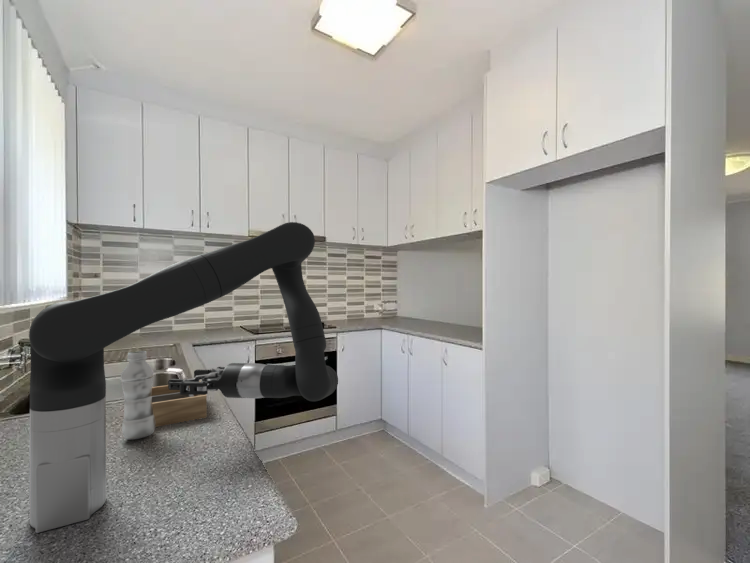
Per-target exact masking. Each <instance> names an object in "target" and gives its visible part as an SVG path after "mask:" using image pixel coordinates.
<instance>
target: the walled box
mask: <svg viewBox="0 0 750 563" xmlns="http://www.w3.org/2000/svg"><path fill="white" fill-rule="evenodd" d="M201 381H202V380H199V382H201ZM189 388H190V386H189ZM207 395H208V394H206V395H181V394H180V390H169V388H168V384H167V385H158V386H152V395H151V396H152V407H153V414H154V417H155V421H156V425H155V428H158V427H163V426H168V425H175V424H180V423H179V422H181V423H185V422H184V421H186V422H190V421H189V420H192V421H196V420H195V419H197V420H202V419H201V418H203V419H206V417H207V416H208V415H207V412H208V411H207V410H208V407H207V406H208V405H207V401H208V399H207ZM207 418H208V417H207ZM174 423H175V424H174Z"/></svg>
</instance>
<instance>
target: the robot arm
mask: <svg viewBox="0 0 750 563" xmlns="http://www.w3.org/2000/svg"><path fill="white" fill-rule="evenodd" d="M315 240H316V239H315V235H314V233H313V231H312V229H311V228H310V227H308V226H307V225H306V224H304V223H301V222H297V221H295V222H293V221H289V222H285V223H283V224H280V225H277V226H276V227H275V228H272V229H270V230H268V231H266V232H264V233H261V234H259V235H258V236H255V237H252V238H249V239H247V240H243V241H240V242H237V243H233V244H229V245H226V246H224V247H221V248H220V247H219V248H217V249H214V250H211V251H208V252H205V253H204V252H203V253H201V254H198V255H194V256H192V257H189V258H185V259H183V260H180V261H178V262H176V263H175V262H174V263H173V264H170V265H168V266H165V267H164V268H162V269H160V270H157V271H155V272H153V273H152V274H150V275H147V276H145V277H144V278H142V279H140V280H138V281H137V282H134V283H132V284H130V285H126V286H125V287H122V288H117V289H115V290H112V291H108V292H105V293H102V294H97V295H94V296H90V297H85V298H82V299H77V300H64V301H59V302H55V303H53V304H50V305H48V306H46V307H45V308H44V309H42V310H41V311H40V312H39V313H37V314H36V316H35V317H34V319H33V320H32V322H31V325H30V327H29V332H28V337H29V344H30V378H29V526H30V527H31V528H33V529H35V534H38V533H42V532H46V531H50V530H54V529H56V528H61V527H64V526H68V525H72V524H76V523H79V522H83V521H86V520H89V519H91V516H92V515H93V514H94V513H95V512H97V511H99V510H100V509H101V508H102V507H103V505H104V504H105V503H106V501H107V475H106V474H107V463H106V462H107V461H106V460H107V456H106V455H107V450H106V449H107V446H106V445H107V440H106V439H107V438H106V437H107V436H106V434H107V432H106V424H107V422H106V421H107V420H106V419H107V418H106V414H107V411H106V408H107V407H106V405H107V404H106V403H107V402H106V401H107V400H106V397H107V395H106V394H107V382H106V381H107V380H106V373H105V358H104V357H105V355H104V353H105V351H104V350H105V349H106V347H108V346H110V345H112V344H113V343H115V342H118V341H119V340H121V339H123V338H125V337H127V336H128V335H130V334H133V333H134V332H136V331H138V330H140V329H143V328H145V327H147V326H151V325H152V324H154V323H158V322H161V321H163V320H167V319H169V318H172V317H176V316H178V315H180V314H184V313H187V312H189V311H191V310H194V309H196V308H199V307H201V306H204V305H206V304H209V303H211V302H213V301H216V300H218V299H220V298H223V297H225V296H227V295H228V294H230V293H232V292H233V291H235V290H237V289H239V288H241V287H242V286H244V285H245V284H247V283H248V282H250V281H252V280H253V279H254V278H256V277H257V276H259V275H260V274H262V273H264V272H265V271H268V270H271V269H272V272H273V274H274V277H275V280H276V282H277V285H278V288H279V291H280V294H281V297H282V300H283V304H284V308H285V312H286V314H287V315H286V316H287V320H288V325H289V330H290V334H291V339H292V343H293V347H294V352H295V356H294V357H295V358H294V362H295V365H283V364H264V363H255V362H254V363H252V362H251V363H248V362H247V363H246V362H243V363H242V362H232V363H228V364H227V365H226V366H216V368H214V367H213V368H210V369H195V370H194V371H193V378H192V377H191V378H185V379H183V378H170V379H168V383H167V385H168V388H169V390H180V394H181V395H208V392H217V391H220V393H221V394H222V396H223V397H225V398H228V399H232V398H233V399H234V398H235V399H262V398H263V399H264V398H267V399H268V398H269V399H270V398H271V399H272V398H273V399H282V398H289V397H293V396H294V397H296V396H300V397H301V396H302V397H303V398H304V399H306V400H307V401H309V402H318V401H321V400H323V399H325V398H327V397H329V396H330V395H332V394H333V393H334V392H335V390H336V389H337V387H338V384H339V377H338V374H337V372H336V370H335V369H333V368H332V367H331V366H330V365H327V363H326V358H325V350H326V348H327V339H326V336H325V331H324V327H323V326H324V325H323V322H322V318H321V315H320V312H319V310H318V308H317V306H316V305H315V302H314V301H313V299H312V297H311V296H310V294H309V292H308V290H307V288H306V285H305V281H304V278H303V269H302V263H303V262H304V261H306V259H307V258H308V257H309V256H310V255H311V254H312V252H313V250H314V248H315V242H316V241H315ZM199 381H201V382H199ZM189 386H190V388H189Z"/></svg>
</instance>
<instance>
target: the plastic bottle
mask: <svg viewBox="0 0 750 563" xmlns="http://www.w3.org/2000/svg"><path fill="white" fill-rule="evenodd" d="M147 359H148V356H147V351H146V350H139V351H131V352H128V353H127V360H126V361H127V362H128V363H127V365H126V366H125V368H124V369H123V370H122V372H121V374H120V382H121V383H120V384H121V388H122V392H123V400H124V401H123V404H124V409H123V421H122V424H121V432H122V433H121V434H122V436H123V438H124V439H125V440H128V441H129V440H132V441H134V440H138V439H139V440H140V439H142V438H146V437H148V436H150V435H152V434H153V433H154V431H155V430H156V427H155V425H156V421H155V417H154V414H153V407H152V396H151V395H152V387H153V381H154V374H155V373H154V370H153V367H151V365H150V364H149V363H148V362H147Z"/></svg>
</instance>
